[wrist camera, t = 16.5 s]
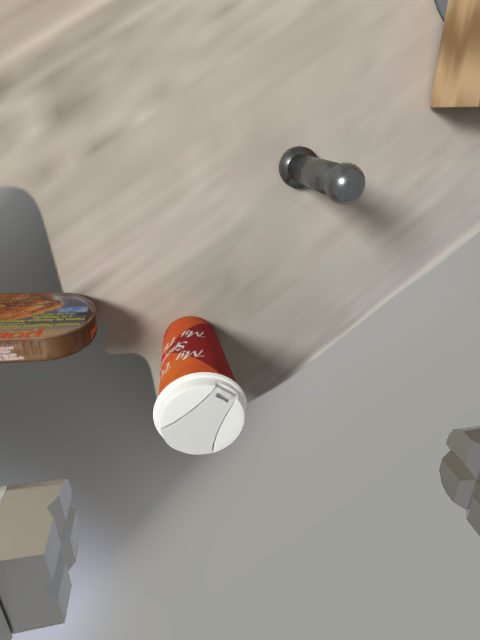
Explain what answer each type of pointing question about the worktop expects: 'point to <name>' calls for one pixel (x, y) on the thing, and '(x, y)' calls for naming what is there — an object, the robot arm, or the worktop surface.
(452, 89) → the oak link
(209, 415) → the paper cup
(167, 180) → the worktop surface
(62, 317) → the tin
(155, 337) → the worktop surface
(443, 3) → the slate mat
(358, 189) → the grey metal rod
